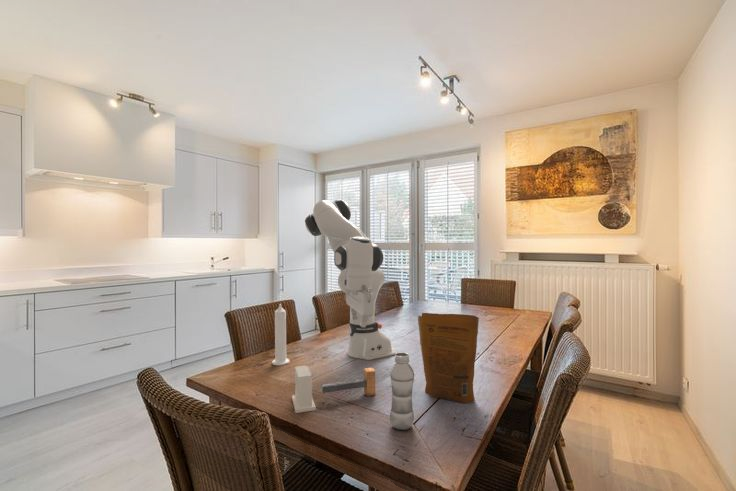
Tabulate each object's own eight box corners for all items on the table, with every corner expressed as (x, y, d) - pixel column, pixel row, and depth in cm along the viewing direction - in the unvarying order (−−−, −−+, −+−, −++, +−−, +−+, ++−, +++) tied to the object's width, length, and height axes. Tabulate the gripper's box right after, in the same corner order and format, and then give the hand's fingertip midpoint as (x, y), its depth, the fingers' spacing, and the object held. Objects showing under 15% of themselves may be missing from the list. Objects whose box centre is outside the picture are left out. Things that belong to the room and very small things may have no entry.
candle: (285, 366, 142) (284, 305, 141) (269, 365, 143) (268, 304, 142) (292, 360, 148) (291, 302, 148) (276, 359, 150) (276, 301, 149)
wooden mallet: (372, 390, 118) (372, 367, 118) (375, 394, 115) (375, 370, 115) (321, 398, 112) (321, 374, 112) (323, 402, 109) (322, 377, 109)
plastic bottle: (388, 421, 99) (387, 351, 98) (411, 420, 99) (411, 350, 99) (391, 433, 92) (391, 359, 92) (416, 432, 93) (416, 358, 92)
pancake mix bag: (477, 408, 106) (477, 317, 105) (417, 396, 114) (417, 311, 114) (480, 399, 112) (480, 313, 111) (423, 388, 120) (423, 308, 120)
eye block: (310, 395, 115) (310, 364, 114) (315, 409, 105) (315, 375, 105) (292, 398, 113) (291, 366, 113) (295, 413, 103) (295, 378, 103)
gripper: (379, 288, 111) (378, 331, 112) (358, 278, 131) (357, 315, 131) (360, 289, 109) (359, 332, 110) (342, 279, 128) (341, 316, 129)
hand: (358, 322), depth 121 cm, fingers open, 8 cm apart
